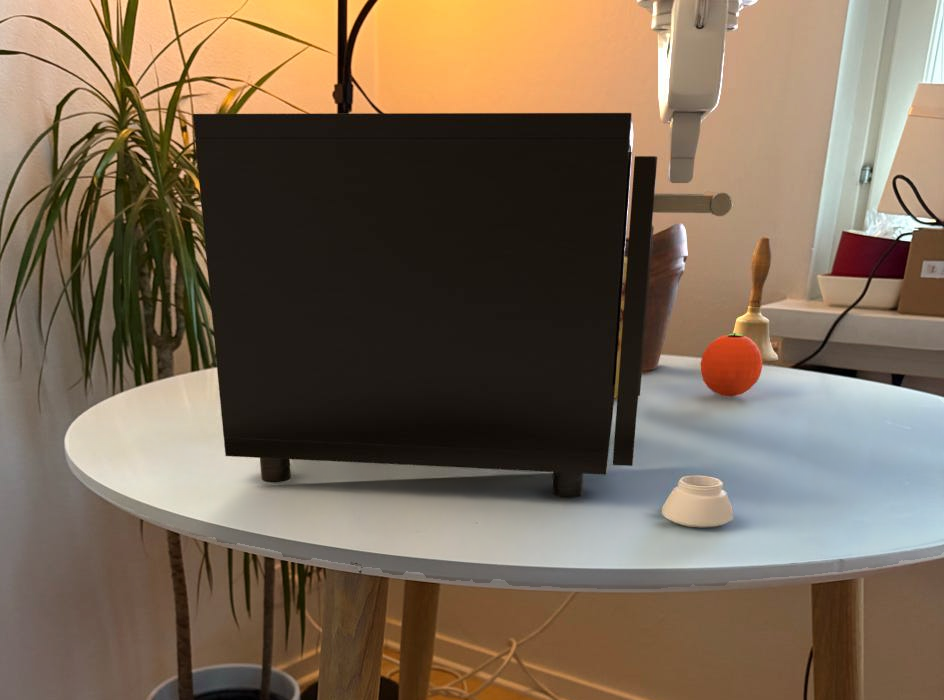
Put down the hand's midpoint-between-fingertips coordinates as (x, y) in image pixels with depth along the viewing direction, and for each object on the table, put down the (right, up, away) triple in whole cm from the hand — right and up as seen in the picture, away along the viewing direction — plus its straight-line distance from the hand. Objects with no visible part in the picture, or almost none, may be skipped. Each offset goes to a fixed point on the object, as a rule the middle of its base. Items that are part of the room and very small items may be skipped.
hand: (679, 183), depth 78 cm
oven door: (0, -18, +8) cm, 19 cm away
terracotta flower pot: (+2, 0, +55) cm, 55 cm away
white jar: (0, -28, -6) cm, 28 cm away
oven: (-19, -19, +12) cm, 29 cm away
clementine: (+14, -8, +37) cm, 40 cm away
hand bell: (+23, +3, +61) cm, 66 cm away
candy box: (-2, -7, +37) cm, 38 cm away
